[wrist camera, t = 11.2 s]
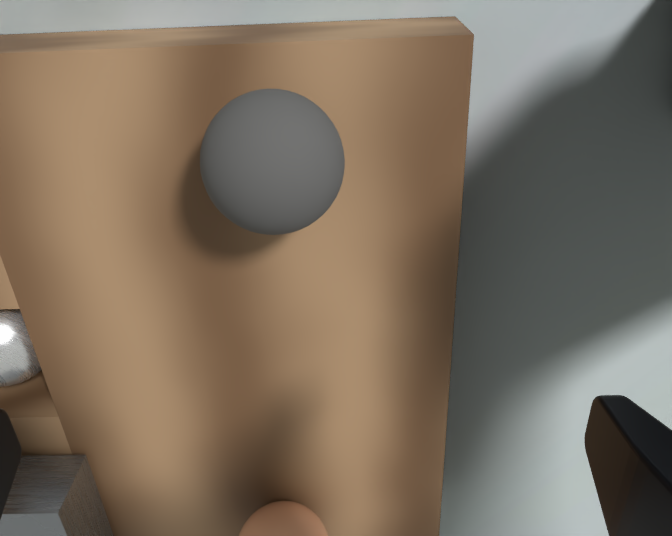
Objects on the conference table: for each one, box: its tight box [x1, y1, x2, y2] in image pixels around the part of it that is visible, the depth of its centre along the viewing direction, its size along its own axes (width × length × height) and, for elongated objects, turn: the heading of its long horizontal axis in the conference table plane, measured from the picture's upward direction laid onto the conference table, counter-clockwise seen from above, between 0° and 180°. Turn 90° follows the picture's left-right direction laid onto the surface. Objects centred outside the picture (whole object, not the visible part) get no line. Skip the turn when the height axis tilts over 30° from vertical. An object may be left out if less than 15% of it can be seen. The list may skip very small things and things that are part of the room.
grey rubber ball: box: [200, 89, 345, 235], centre depth 15 cm, size 4×4×4 cm
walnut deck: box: [0, 17, 474, 536], centre depth 22 cm, size 22×20×3 cm
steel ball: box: [0, 309, 42, 387], centre depth 21 cm, size 4×4×4 cm
